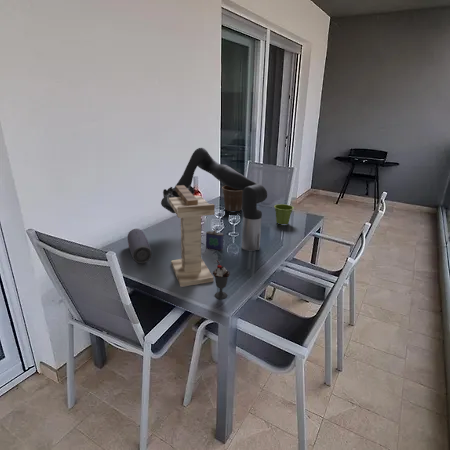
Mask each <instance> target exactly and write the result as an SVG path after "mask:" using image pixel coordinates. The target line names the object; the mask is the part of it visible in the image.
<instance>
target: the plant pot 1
mask: <svg viewBox="0 0 450 450" xmlns="http://www.w3.org/2000/svg"><path fill="white" fill-rule="evenodd" d="M221 188H222V191H223V192H222V193H223V203H224V210H225V209H226V210H227V211H226V210H225V211H226V212H228V211H240V210H242V193H243V191H242V190H239V189H235V188H232V187H229V186H226V185H225V184H224V186H222V187H221ZM240 212H241V211H240Z"/></svg>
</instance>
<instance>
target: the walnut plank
mask: <svg viewBox="0 0 450 450" xmlns="http://www.w3.org/2000/svg"><path fill="white" fill-rule="evenodd" d="M174 187H175V189H176V192H177V193H178V195H179V196H180V197H181V199H182V200H183V201H184V202H185V204H186V205H187V206H191V205H198V200H197V199H196V198H195V196H196V195H194V194H192V193H191V192H190V191H189V190H188V189H187V188H186V187H185V186H184V185H178V186H176V185H175V186H174Z"/></svg>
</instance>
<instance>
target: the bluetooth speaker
mask: <svg viewBox="0 0 450 450" xmlns="http://www.w3.org/2000/svg"><path fill="white" fill-rule="evenodd" d="M127 243H128V248H129V252H130V254H131V257H132V259H133V260H134V262H136V263H137V264H145V263H147V262H149V261H150V260H151V258H152V250H151V245H150V243H149V241H148V238H147V236H146V234H145V233H144V231H142V229H140V228H134V229H133V228H132V229H130V231H129V232H128V234H127Z"/></svg>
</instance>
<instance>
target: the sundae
mask: <svg viewBox="0 0 450 450" xmlns="http://www.w3.org/2000/svg"><path fill="white" fill-rule="evenodd" d="M215 261H216V262H217V263H218V265H217V266H216V268H215V269H214V271H212V276H213V278H214V281H215V285H216V287H217V288H218V289H219V291H217V292H215V294H214V297H215V298H216V299H218V300H223V299H227V297H228V294H227V292H225V291H223V289H224V288H226V286H227V283H228V279H229V278H230V275H231V272H230V271H229V270H227V269H226V268H225V266H223V265H220V264H221V263H220V262H219V261H218V259H217V260H215Z"/></svg>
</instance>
